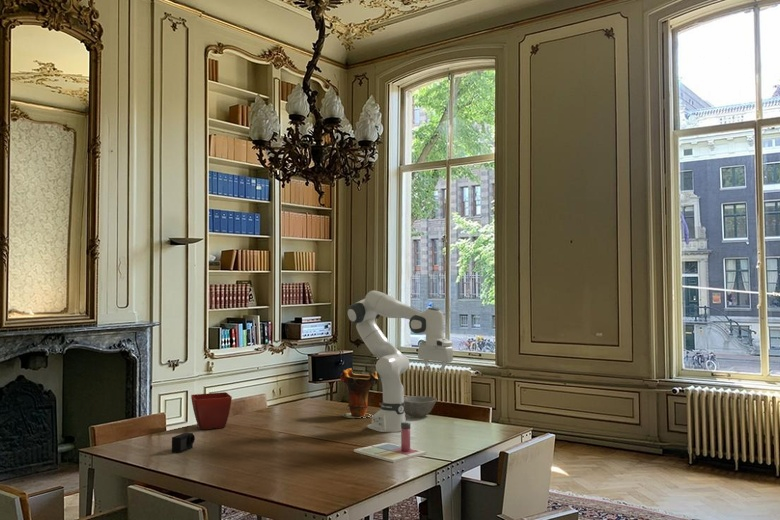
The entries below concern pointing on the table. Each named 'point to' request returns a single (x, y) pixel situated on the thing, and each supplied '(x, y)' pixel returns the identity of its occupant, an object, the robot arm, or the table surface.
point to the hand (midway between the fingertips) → (434, 370)
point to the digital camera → (182, 442)
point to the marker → (405, 437)
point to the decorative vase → (358, 391)
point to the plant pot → (211, 409)
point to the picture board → (389, 452)
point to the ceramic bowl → (418, 405)
